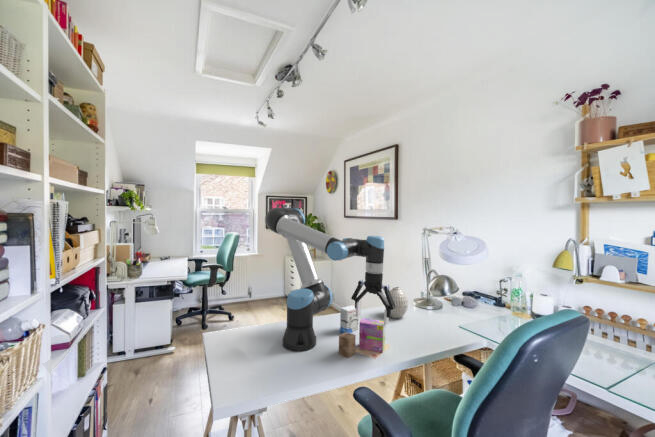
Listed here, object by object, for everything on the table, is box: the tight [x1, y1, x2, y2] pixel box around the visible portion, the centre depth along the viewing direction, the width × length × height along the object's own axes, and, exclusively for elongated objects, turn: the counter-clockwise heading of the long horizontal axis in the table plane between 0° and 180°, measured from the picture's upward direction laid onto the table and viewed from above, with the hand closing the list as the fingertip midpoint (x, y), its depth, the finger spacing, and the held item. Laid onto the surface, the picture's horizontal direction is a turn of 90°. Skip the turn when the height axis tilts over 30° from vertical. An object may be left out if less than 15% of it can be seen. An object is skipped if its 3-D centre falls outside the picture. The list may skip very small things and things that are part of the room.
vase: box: [384, 286, 409, 319], centre depth 171 cm, size 13×13×17 cm
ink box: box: [339, 304, 360, 334], centre depth 150 cm, size 9×5×12 cm, turn 131°
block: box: [338, 332, 357, 359], centre depth 126 cm, size 5×5×8 cm
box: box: [358, 317, 386, 354], centre depth 131 cm, size 10×6×12 cm, turn 69°
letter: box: [355, 343, 391, 360], centre depth 131 cm, size 11×15×1 cm
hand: (371, 320), depth 131 cm, fingers open, 13 cm apart
